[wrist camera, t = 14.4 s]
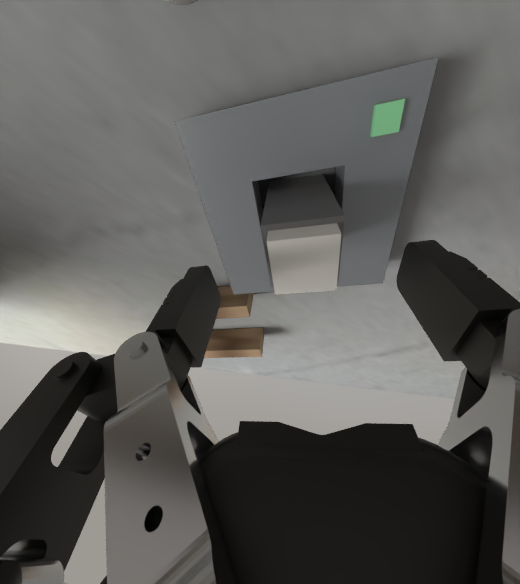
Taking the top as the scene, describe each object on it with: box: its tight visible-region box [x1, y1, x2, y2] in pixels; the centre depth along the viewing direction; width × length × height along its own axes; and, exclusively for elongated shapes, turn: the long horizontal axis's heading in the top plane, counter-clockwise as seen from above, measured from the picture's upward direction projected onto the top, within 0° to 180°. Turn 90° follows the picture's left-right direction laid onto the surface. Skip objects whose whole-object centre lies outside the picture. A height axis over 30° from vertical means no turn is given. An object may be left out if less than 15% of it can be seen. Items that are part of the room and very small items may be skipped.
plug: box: [261, 174, 345, 295], centre depth 13 cm, size 4×4×8 cm
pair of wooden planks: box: [204, 286, 264, 358], centre depth 23 cm, size 8×8×3 cm
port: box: [174, 57, 439, 294], centre depth 15 cm, size 12×12×3 cm
